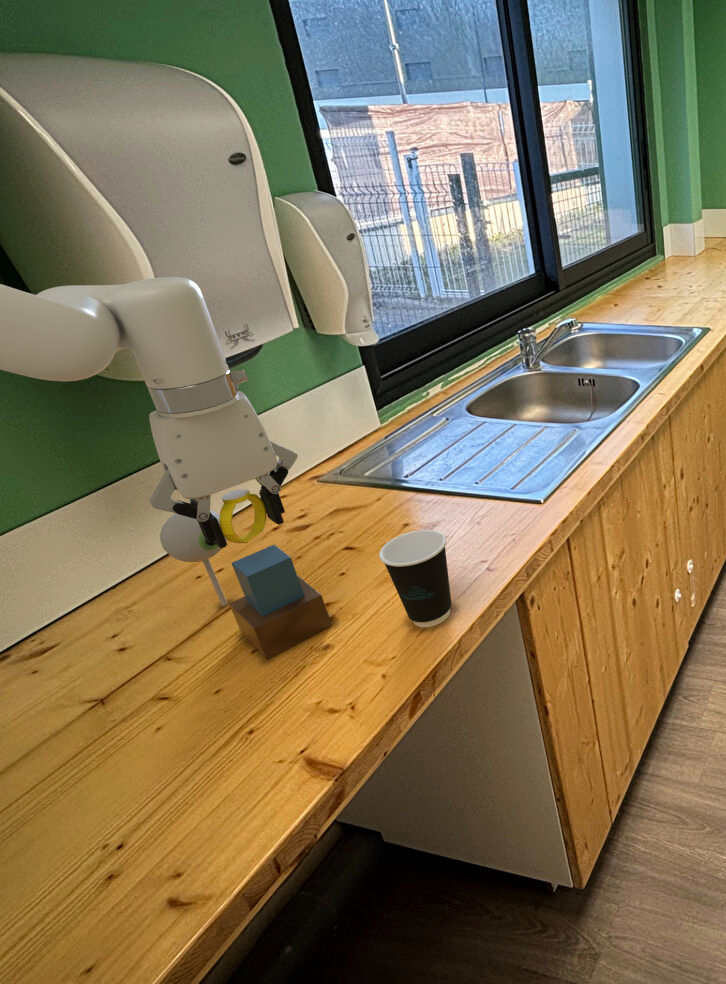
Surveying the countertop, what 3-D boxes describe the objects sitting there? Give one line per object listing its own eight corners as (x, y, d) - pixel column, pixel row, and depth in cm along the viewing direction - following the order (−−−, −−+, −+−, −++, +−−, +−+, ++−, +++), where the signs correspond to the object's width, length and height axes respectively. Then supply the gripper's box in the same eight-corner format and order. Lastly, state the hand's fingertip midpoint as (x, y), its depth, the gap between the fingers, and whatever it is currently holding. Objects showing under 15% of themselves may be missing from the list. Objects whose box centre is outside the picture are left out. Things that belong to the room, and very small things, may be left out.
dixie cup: (447, 589, 98) (429, 522, 93) (473, 614, 93) (456, 544, 88) (390, 616, 93) (369, 547, 88) (414, 644, 88) (393, 572, 83)
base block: (266, 660, 86) (253, 628, 84) (241, 634, 91) (228, 603, 89) (332, 625, 92) (321, 594, 90) (305, 602, 96) (294, 572, 94)
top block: (262, 616, 86) (246, 576, 83) (247, 601, 89) (231, 562, 86) (304, 596, 89) (290, 557, 87) (288, 582, 92) (274, 544, 90)
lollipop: (219, 625, 93) (177, 529, 86) (181, 615, 95) (137, 521, 88) (266, 593, 99) (230, 501, 92) (229, 584, 101) (191, 494, 94)
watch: (245, 551, 82) (228, 507, 80) (223, 551, 82) (205, 508, 80) (277, 524, 88) (261, 482, 85) (256, 524, 88) (240, 482, 85)
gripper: (265, 365, 85) (308, 494, 93) (88, 411, 73) (155, 555, 81) (291, 376, 81) (334, 511, 89) (108, 427, 69) (176, 577, 77)
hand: (248, 530), depth 85 cm, fingers closed on watch, 5 cm apart
